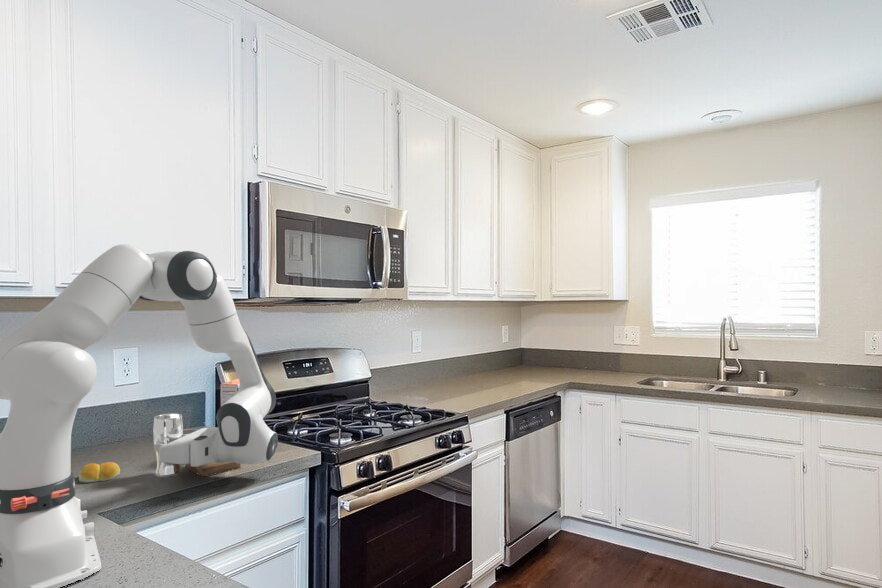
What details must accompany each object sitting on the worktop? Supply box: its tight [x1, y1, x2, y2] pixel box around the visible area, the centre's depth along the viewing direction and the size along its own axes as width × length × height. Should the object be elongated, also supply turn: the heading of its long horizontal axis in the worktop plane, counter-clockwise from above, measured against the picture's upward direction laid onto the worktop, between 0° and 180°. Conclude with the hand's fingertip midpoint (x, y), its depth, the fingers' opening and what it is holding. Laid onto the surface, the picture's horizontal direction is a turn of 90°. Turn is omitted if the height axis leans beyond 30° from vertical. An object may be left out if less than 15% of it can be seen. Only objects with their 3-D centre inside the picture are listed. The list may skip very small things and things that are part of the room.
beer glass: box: [152, 413, 184, 478], centre depth 146 cm, size 7×7×15 cm
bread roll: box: [78, 461, 121, 484], centre depth 144 cm, size 8×9×4 cm
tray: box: [184, 462, 242, 477], centre depth 151 cm, size 11×10×2 cm
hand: (165, 442), depth 146 cm, fingers closed on beer glass, 6 cm apart
